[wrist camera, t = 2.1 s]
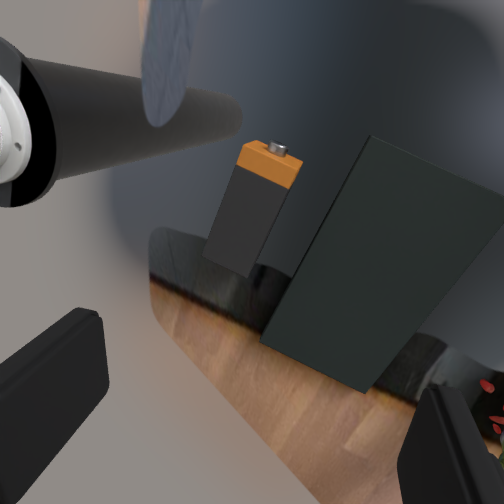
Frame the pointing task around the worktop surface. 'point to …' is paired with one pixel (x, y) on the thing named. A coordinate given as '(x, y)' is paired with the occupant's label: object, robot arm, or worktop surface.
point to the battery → (251, 205)
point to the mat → (380, 263)
